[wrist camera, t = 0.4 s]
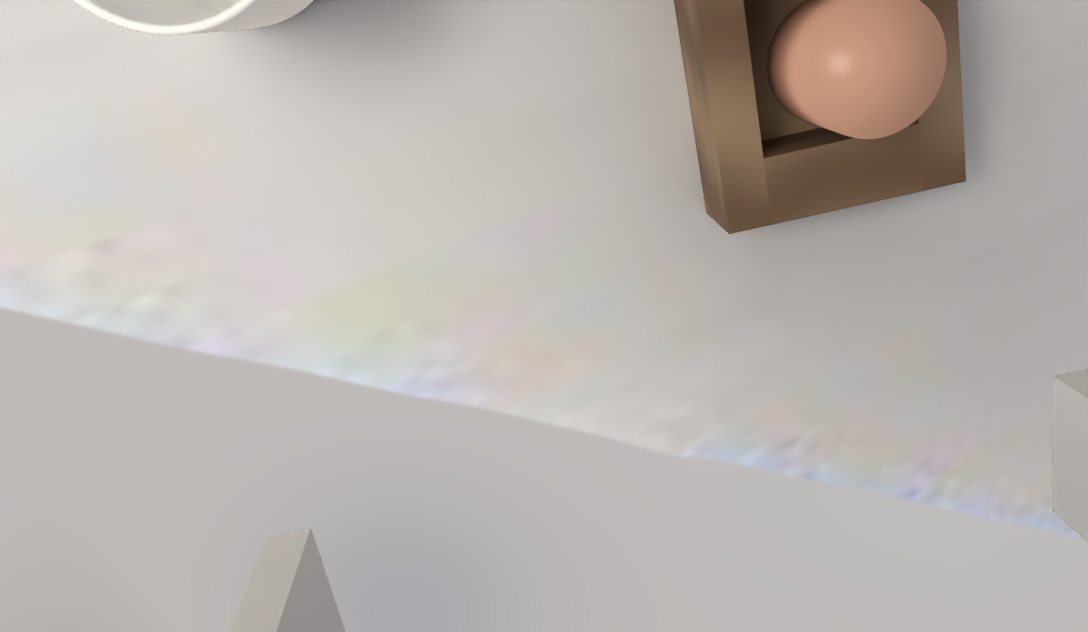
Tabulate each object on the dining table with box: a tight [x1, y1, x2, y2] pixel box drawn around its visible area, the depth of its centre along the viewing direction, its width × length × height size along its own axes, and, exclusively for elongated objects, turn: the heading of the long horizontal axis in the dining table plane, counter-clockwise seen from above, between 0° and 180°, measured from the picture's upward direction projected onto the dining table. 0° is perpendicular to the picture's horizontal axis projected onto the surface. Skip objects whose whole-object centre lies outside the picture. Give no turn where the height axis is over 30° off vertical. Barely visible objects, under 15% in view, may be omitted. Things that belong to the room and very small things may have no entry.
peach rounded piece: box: [767, 0, 947, 139], centre depth 33 cm, size 5×5×4 cm
